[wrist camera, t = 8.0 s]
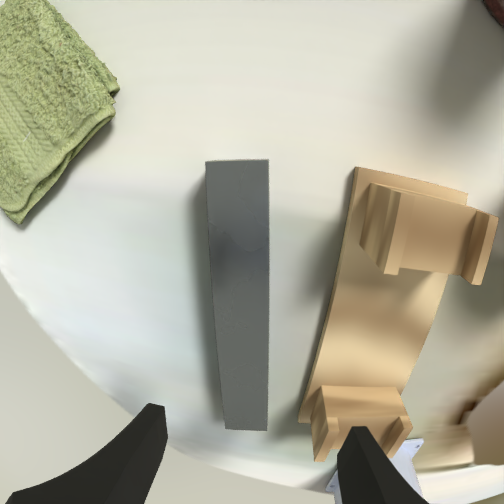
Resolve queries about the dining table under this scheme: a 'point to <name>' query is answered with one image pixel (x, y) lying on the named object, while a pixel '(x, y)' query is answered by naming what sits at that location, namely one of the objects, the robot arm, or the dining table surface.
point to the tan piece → (388, 302)
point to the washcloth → (45, 101)
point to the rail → (240, 286)
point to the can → (496, 9)
